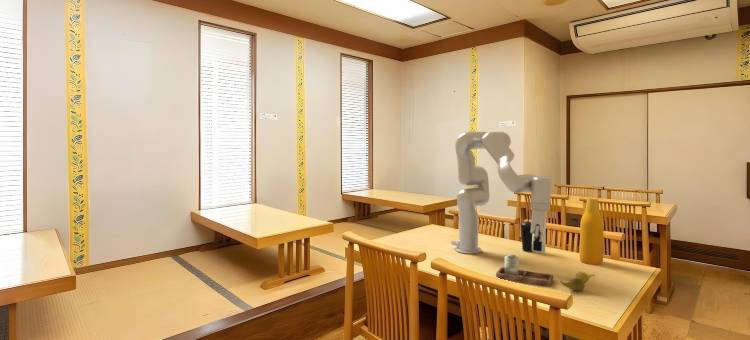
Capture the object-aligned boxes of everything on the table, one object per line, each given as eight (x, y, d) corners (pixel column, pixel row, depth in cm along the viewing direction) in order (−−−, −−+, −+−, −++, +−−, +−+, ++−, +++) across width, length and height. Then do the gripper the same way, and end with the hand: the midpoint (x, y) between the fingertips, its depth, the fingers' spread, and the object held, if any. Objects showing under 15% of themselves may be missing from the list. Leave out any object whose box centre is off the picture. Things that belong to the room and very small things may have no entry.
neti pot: (599, 290, 142) (599, 272, 141) (564, 294, 138) (564, 276, 138) (589, 285, 146) (590, 269, 146) (555, 290, 143) (555, 272, 142)
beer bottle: (581, 257, 181) (582, 196, 179) (603, 261, 176) (605, 197, 174) (578, 262, 174) (579, 198, 172) (601, 266, 168) (603, 200, 166)
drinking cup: (537, 253, 190) (538, 212, 188) (521, 252, 191) (521, 212, 190) (534, 248, 197) (534, 210, 196) (518, 248, 199) (518, 209, 197)
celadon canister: (530, 251, 162) (531, 230, 161) (532, 248, 166) (533, 228, 166) (544, 253, 159) (545, 232, 158) (545, 250, 164) (546, 229, 163)
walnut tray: (496, 278, 156) (496, 256, 155) (501, 271, 164) (501, 251, 163) (550, 286, 146) (550, 264, 145) (553, 279, 153) (553, 257, 153)
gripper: (534, 202, 170) (532, 242, 172) (526, 208, 156) (525, 252, 157) (552, 203, 166) (550, 245, 168) (547, 210, 152) (545, 255, 154)
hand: (538, 248), depth 163 cm, fingers closed on celadon canister, 5 cm apart
